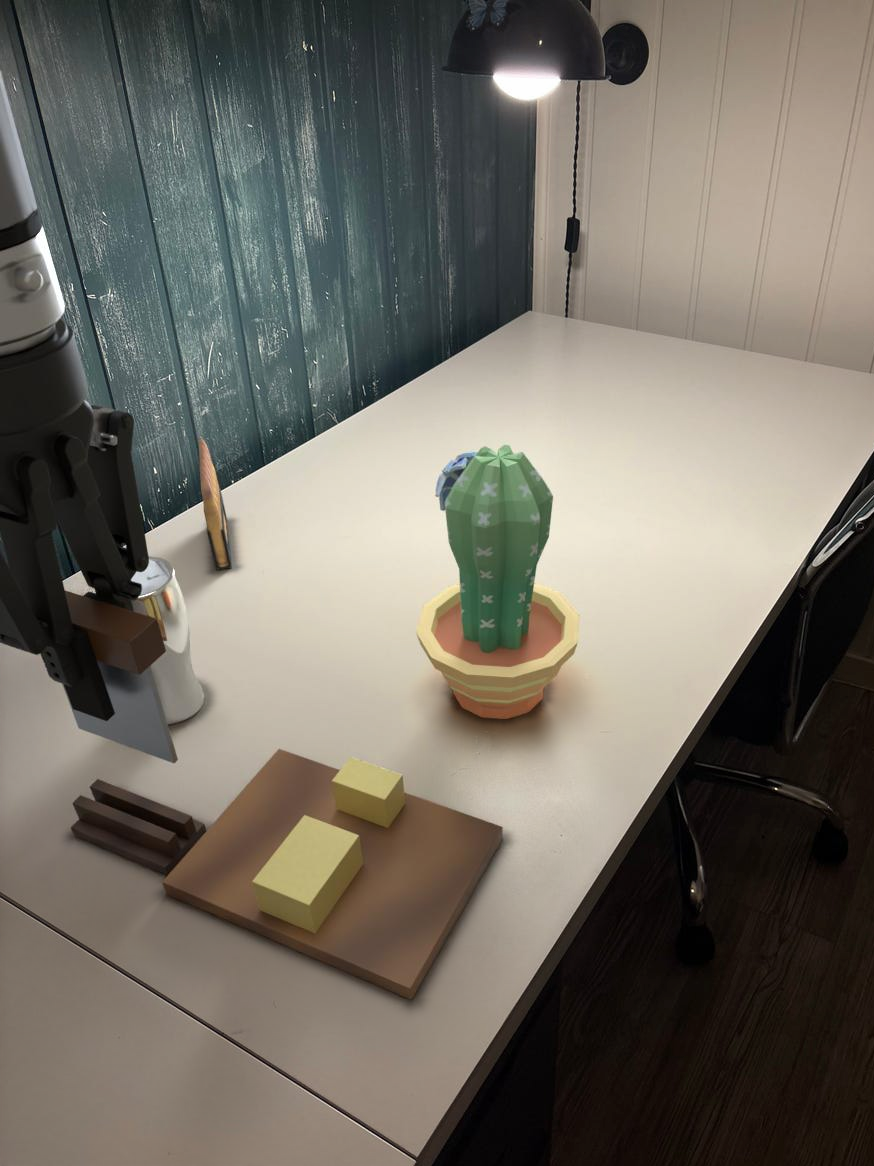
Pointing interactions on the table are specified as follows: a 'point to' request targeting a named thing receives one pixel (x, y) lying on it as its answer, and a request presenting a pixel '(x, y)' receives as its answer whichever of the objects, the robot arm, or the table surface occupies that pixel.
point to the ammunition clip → (214, 511)
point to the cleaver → (125, 675)
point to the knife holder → (135, 826)
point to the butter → (308, 873)
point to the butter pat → (369, 792)
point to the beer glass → (170, 640)
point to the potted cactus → (497, 588)
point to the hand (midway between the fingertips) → (110, 695)
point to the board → (377, 892)
